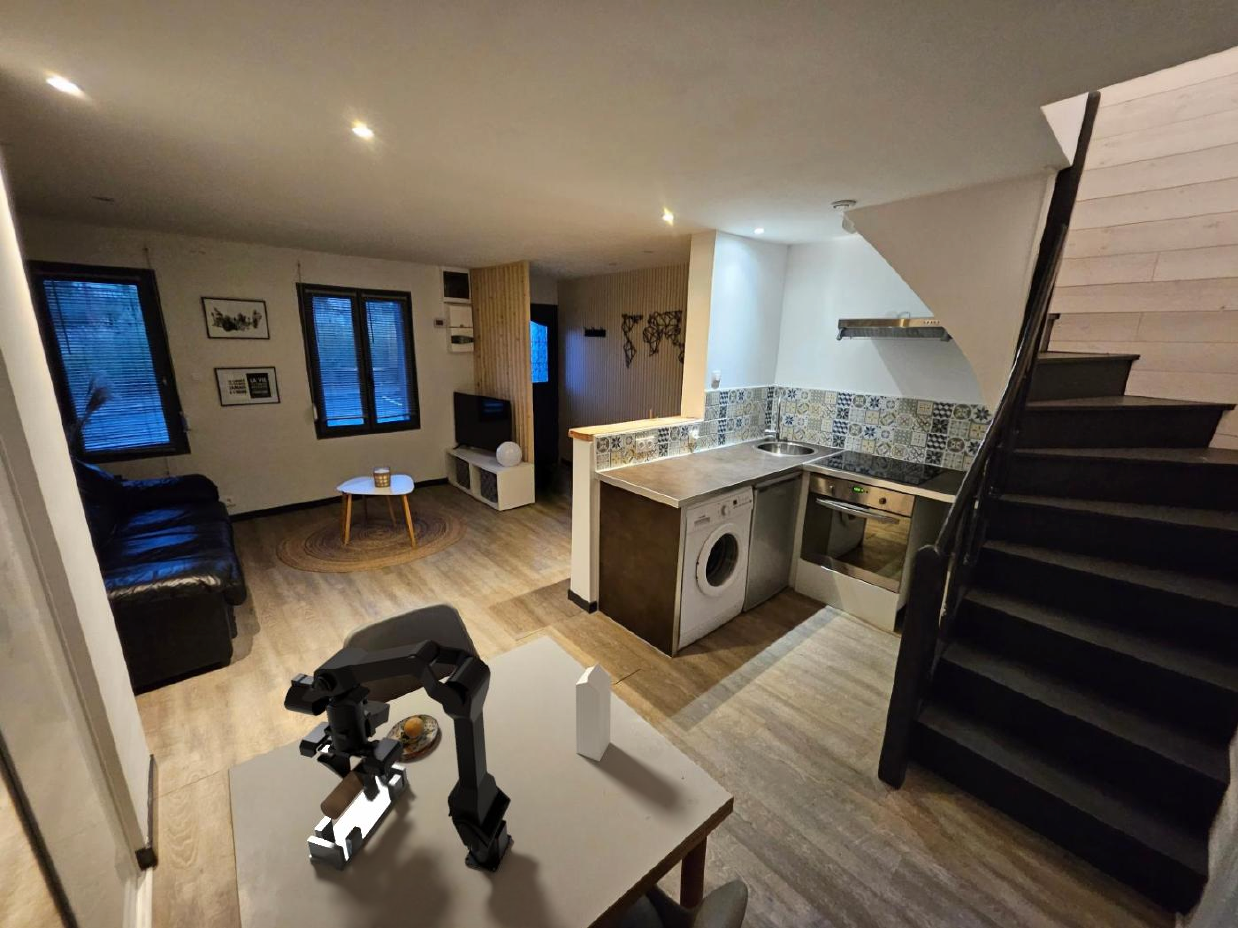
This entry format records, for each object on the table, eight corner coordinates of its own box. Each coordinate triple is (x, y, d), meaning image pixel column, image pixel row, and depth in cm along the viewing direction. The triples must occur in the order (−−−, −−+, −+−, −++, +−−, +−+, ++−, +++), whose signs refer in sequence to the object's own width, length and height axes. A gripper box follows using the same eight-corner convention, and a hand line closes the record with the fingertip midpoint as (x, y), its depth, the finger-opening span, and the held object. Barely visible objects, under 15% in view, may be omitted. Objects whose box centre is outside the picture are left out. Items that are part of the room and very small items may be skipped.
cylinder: (374, 756, 99) (372, 741, 97) (390, 761, 98) (388, 745, 96) (322, 815, 86) (319, 799, 85) (340, 821, 85) (337, 805, 84)
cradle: (410, 782, 102) (408, 766, 100) (344, 871, 85) (340, 853, 84) (378, 774, 103) (376, 757, 102) (307, 859, 87) (303, 841, 85)
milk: (610, 742, 113) (612, 663, 107) (599, 762, 107) (600, 680, 101) (587, 733, 115) (588, 655, 109) (575, 752, 110) (575, 672, 104)
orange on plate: (431, 712, 121) (429, 687, 119) (446, 744, 112) (443, 718, 110) (380, 735, 114) (376, 709, 112) (391, 770, 105) (387, 743, 103)
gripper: (418, 694, 93) (426, 758, 97) (339, 676, 97) (349, 738, 101) (377, 740, 82) (387, 809, 87) (290, 718, 87) (304, 784, 91)
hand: (357, 782), depth 92 cm, fingers closed on cylinder, 4 cm apart
